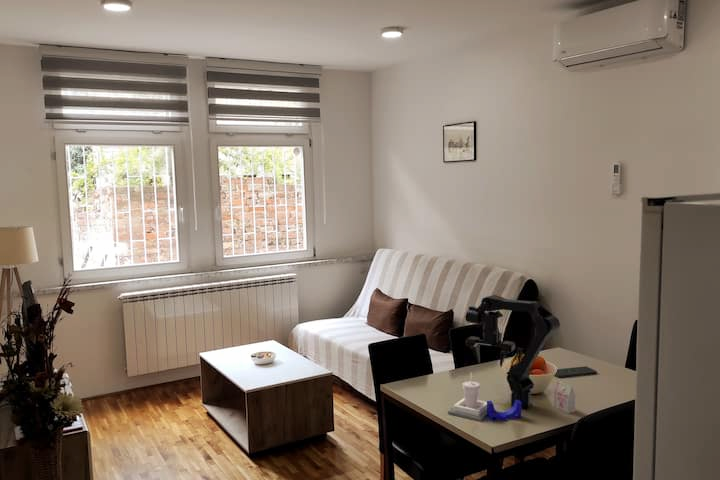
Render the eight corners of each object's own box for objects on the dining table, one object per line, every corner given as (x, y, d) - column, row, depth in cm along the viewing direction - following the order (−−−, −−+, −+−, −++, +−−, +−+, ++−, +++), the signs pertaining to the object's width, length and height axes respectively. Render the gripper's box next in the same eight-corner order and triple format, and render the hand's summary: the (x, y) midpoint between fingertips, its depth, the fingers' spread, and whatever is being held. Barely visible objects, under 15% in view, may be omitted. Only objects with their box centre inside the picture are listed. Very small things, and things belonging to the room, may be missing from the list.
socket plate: (494, 409, 226) (494, 402, 226) (480, 421, 215) (481, 413, 215) (462, 402, 233) (462, 395, 233) (448, 413, 222) (448, 406, 222)
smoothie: (480, 406, 227) (480, 370, 225) (478, 412, 220) (479, 376, 219) (463, 405, 228) (463, 369, 227) (461, 411, 222) (461, 375, 221)
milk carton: (561, 405, 230) (562, 380, 229) (574, 411, 224) (575, 386, 222) (554, 407, 228) (554, 382, 227) (567, 413, 222) (568, 387, 221)
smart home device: (547, 369, 268) (586, 365, 273) (547, 373, 268) (586, 369, 273) (558, 375, 260) (597, 371, 265) (558, 379, 260) (597, 375, 266)
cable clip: (490, 421, 216) (490, 405, 215) (486, 416, 220) (487, 401, 219) (522, 420, 216) (522, 404, 216) (518, 415, 221) (518, 399, 220)
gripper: (519, 325, 239) (518, 362, 241) (475, 319, 249) (474, 356, 250) (511, 331, 230) (510, 370, 231) (465, 325, 239) (465, 363, 241)
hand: (489, 364), depth 239 cm, fingers open, 9 cm apart
